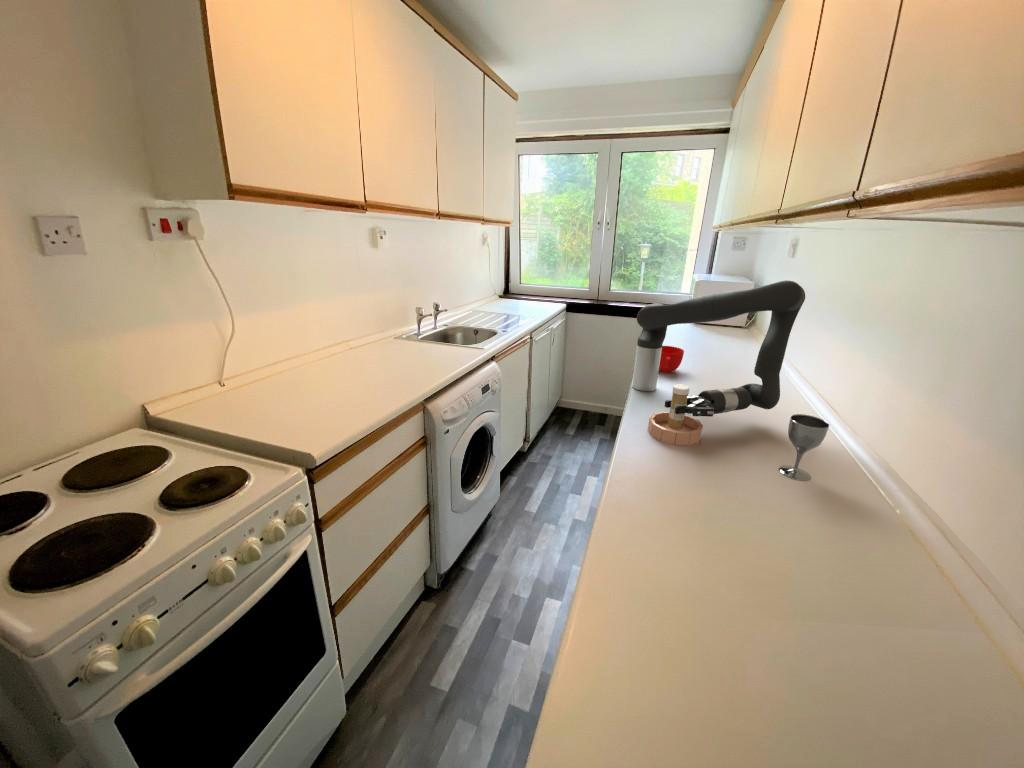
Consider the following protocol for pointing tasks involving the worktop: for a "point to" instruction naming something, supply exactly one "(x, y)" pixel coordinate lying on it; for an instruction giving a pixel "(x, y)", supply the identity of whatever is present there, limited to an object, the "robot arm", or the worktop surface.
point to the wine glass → (804, 441)
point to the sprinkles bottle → (678, 400)
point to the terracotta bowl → (676, 437)
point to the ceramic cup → (670, 359)
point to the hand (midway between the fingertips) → (670, 407)
